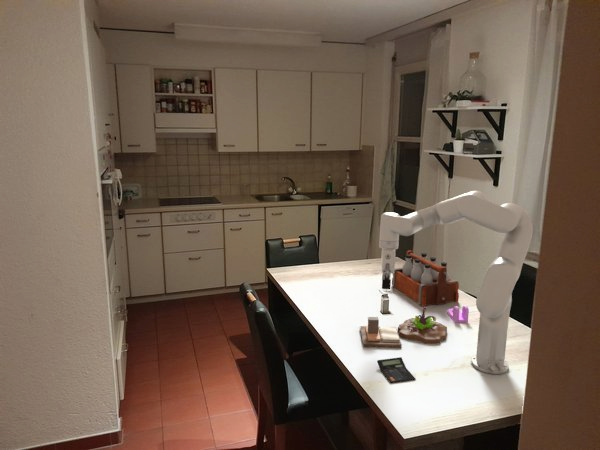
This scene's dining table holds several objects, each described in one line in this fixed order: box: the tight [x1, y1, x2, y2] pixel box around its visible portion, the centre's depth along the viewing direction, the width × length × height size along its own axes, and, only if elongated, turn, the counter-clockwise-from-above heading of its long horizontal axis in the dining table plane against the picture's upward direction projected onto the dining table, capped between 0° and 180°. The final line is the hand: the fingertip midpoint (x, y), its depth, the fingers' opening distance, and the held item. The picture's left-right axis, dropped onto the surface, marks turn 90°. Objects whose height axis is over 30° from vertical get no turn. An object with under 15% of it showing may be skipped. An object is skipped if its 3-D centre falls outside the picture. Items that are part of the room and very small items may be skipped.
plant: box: [397, 306, 448, 345], centre depth 194 cm, size 20×20×11 cm
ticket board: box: [360, 325, 402, 349], centre depth 189 cm, size 16×15×3 cm
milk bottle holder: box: [391, 250, 460, 307], centre depth 237 cm, size 21×35×19 cm, turn 18°
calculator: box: [376, 357, 417, 384], centre depth 163 cm, size 9×12×3 cm
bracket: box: [446, 305, 470, 324], centre depth 210 cm, size 13×6×7 cm, turn 2°
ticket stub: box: [365, 316, 381, 341], centre depth 188 cm, size 12×5×7 cm, turn 177°
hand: (386, 284), depth 185 cm, fingers open, 9 cm apart
